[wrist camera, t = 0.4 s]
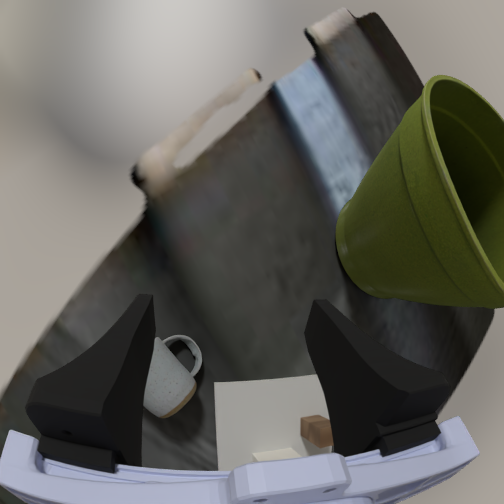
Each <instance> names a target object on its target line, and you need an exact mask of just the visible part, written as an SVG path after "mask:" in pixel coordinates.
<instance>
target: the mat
mask: <svg viewBox="0 0 504 504" xmlns="http://www.w3.org/2000/svg"><path fill="white" fill-rule="evenodd" d="M214 395H215V419H216V439H217V457H218V471H232V470H234V469H235V468H236V467H238V466H241V465H244V464H247V463H253V460H252V453H259V452H266V451H273V450H280V449H286V448H292V449H293V450H295V451H296V452H297V453H298V454H299V455H301V456H302V457H306V456H312V455H319V454H326V453H331V450H332V446H328V447H324V448H319V447H317V446H315V445H314V444H312V443H311V442H309V441H308V440H307V439H305V438H304V437H302V436H301V435H300V418H301V417H307V416H313V415H320V416H322V417H325V418H327V419H329V414H328V409H327V405H326V401H325V397H324V393H323V390H322V387H321V384H320V382H319V379H318V376H317V374H316V375H308V376H299V377H290V378H279V379H268V380H254V381H238V382H214ZM329 420H330V419H329Z"/></svg>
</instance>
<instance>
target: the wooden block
mask: <svg viewBox="0 0 504 504" xmlns="http://www.w3.org/2000/svg"><path fill="white" fill-rule="evenodd" d="M300 435H301V436H302V437H304V438H305V439H307V440H308V441H309V442H311V443H312V444H314V445H315V446H317V447H319V448H324V447H328V446H333V445H334V443H333V437H332V430H331V424H330V420H329V419H327V418H325V417H322V416H320V415H313V416H307V417H301V418H300Z"/></svg>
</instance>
